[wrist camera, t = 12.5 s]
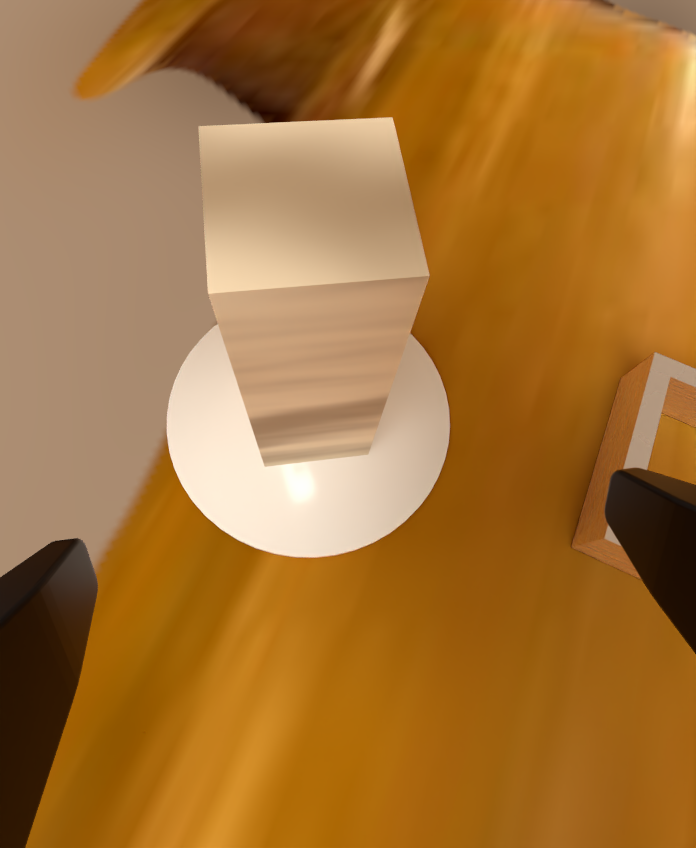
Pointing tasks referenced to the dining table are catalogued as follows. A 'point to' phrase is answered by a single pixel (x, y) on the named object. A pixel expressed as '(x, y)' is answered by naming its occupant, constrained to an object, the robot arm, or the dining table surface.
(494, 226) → the dining table surface
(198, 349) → the plate
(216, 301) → the maple block
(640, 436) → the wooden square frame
